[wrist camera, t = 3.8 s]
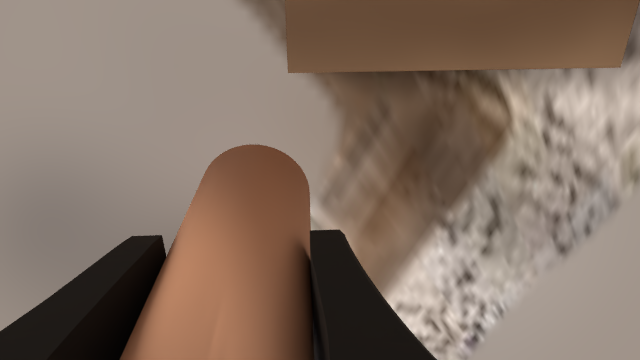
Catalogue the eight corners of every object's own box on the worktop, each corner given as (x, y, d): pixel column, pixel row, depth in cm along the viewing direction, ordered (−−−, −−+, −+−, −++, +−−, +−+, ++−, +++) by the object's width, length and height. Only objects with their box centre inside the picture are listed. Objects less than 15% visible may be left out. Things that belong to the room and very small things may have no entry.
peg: (310, 237, 13) (322, 682, 5) (208, 241, 13) (55, 698, 5) (308, 142, 12) (318, 544, 4) (194, 146, 12) (-48, 562, 4)
